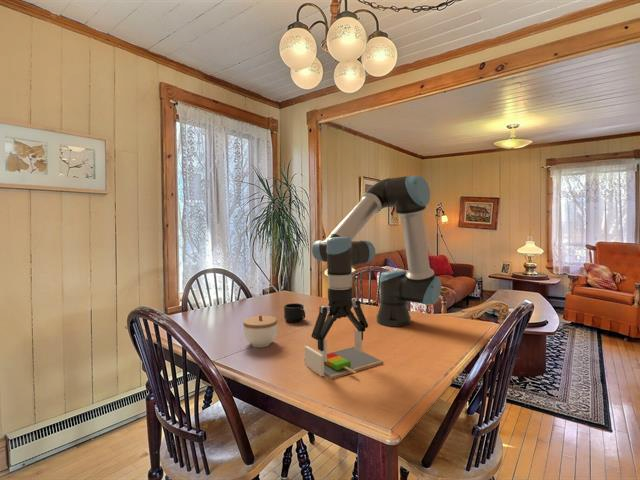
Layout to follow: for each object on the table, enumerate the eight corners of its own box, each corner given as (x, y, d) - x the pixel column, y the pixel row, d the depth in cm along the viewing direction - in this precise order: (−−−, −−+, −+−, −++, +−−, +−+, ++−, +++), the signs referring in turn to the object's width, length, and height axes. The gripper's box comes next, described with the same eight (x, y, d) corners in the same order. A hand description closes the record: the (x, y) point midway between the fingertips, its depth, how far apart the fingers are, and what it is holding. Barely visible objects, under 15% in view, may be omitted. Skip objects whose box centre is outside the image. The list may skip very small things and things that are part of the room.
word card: (308, 363, 113) (307, 345, 112) (324, 375, 104) (324, 355, 104) (304, 364, 112) (304, 346, 112) (321, 376, 103) (321, 356, 103)
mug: (280, 320, 162) (280, 305, 162) (294, 316, 168) (294, 302, 168) (297, 326, 154) (297, 310, 153) (312, 321, 160) (312, 306, 160)
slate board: (352, 348, 126) (352, 346, 126) (382, 363, 112) (382, 361, 112) (304, 360, 115) (304, 358, 115) (331, 378, 102) (331, 376, 102)
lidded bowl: (241, 340, 135) (241, 312, 135) (273, 336, 140) (273, 309, 139) (246, 352, 124) (246, 321, 123) (281, 347, 128) (280, 317, 127)
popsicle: (333, 357, 116) (333, 352, 116) (363, 373, 103) (362, 367, 103) (319, 361, 113) (319, 355, 113) (348, 378, 100) (348, 372, 100)
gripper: (363, 280, 116) (364, 343, 118) (298, 290, 104) (300, 360, 105) (378, 284, 110) (379, 350, 111) (311, 295, 97) (313, 369, 99)
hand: (341, 355), depth 108 cm, fingers open, 12 cm apart
